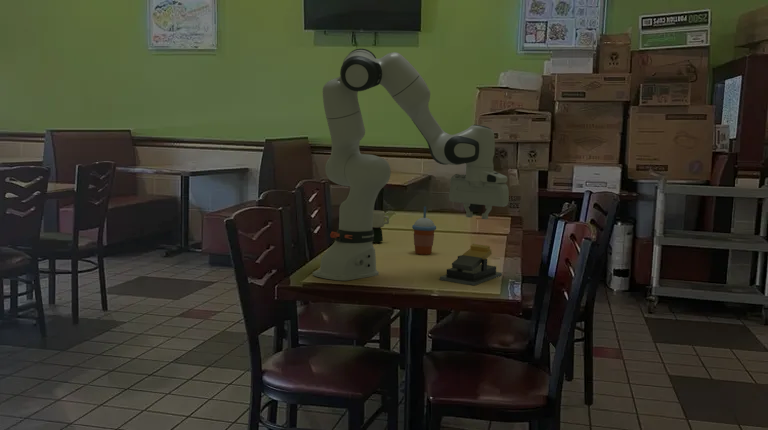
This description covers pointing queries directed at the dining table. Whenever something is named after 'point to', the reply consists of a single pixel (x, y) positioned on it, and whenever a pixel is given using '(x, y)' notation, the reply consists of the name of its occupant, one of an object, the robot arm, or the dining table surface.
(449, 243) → the dining table surface
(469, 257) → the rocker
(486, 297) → the dining table surface
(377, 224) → the grey trophy cup
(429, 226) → the cup with straw
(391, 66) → the robot arm
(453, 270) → the grey box with tabs
